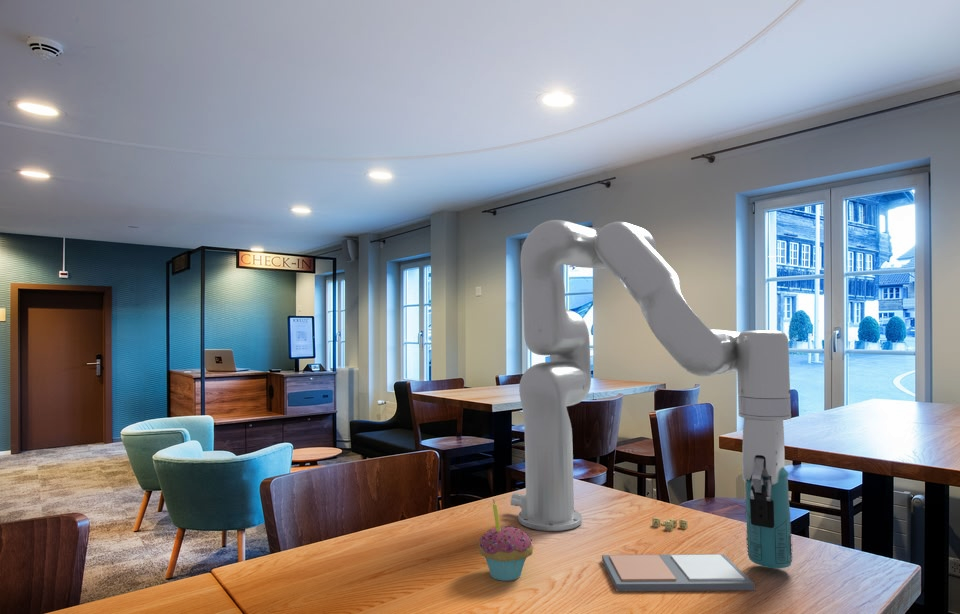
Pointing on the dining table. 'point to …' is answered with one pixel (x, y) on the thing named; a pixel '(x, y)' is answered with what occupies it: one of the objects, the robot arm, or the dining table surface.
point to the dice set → (670, 523)
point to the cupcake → (505, 550)
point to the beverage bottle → (771, 542)
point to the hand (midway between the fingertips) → (767, 517)
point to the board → (675, 573)
